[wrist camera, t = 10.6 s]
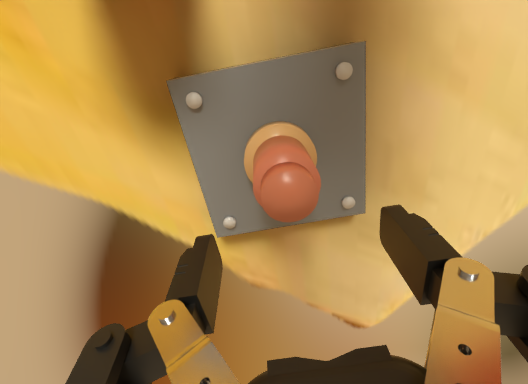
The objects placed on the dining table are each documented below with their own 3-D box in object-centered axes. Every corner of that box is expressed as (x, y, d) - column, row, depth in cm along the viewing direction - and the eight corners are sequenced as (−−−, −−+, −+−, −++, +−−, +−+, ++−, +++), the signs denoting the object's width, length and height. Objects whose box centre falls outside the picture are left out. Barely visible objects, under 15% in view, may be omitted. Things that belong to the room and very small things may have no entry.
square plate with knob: (174, 78, 22) (159, 82, 19) (354, 42, 21) (373, 40, 18) (220, 223, 29) (215, 247, 26) (356, 200, 28) (371, 221, 25)
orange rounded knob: (247, 141, 21) (245, 171, 16) (306, 130, 21) (323, 157, 15) (258, 192, 23) (260, 233, 18) (311, 182, 23) (329, 222, 17)
